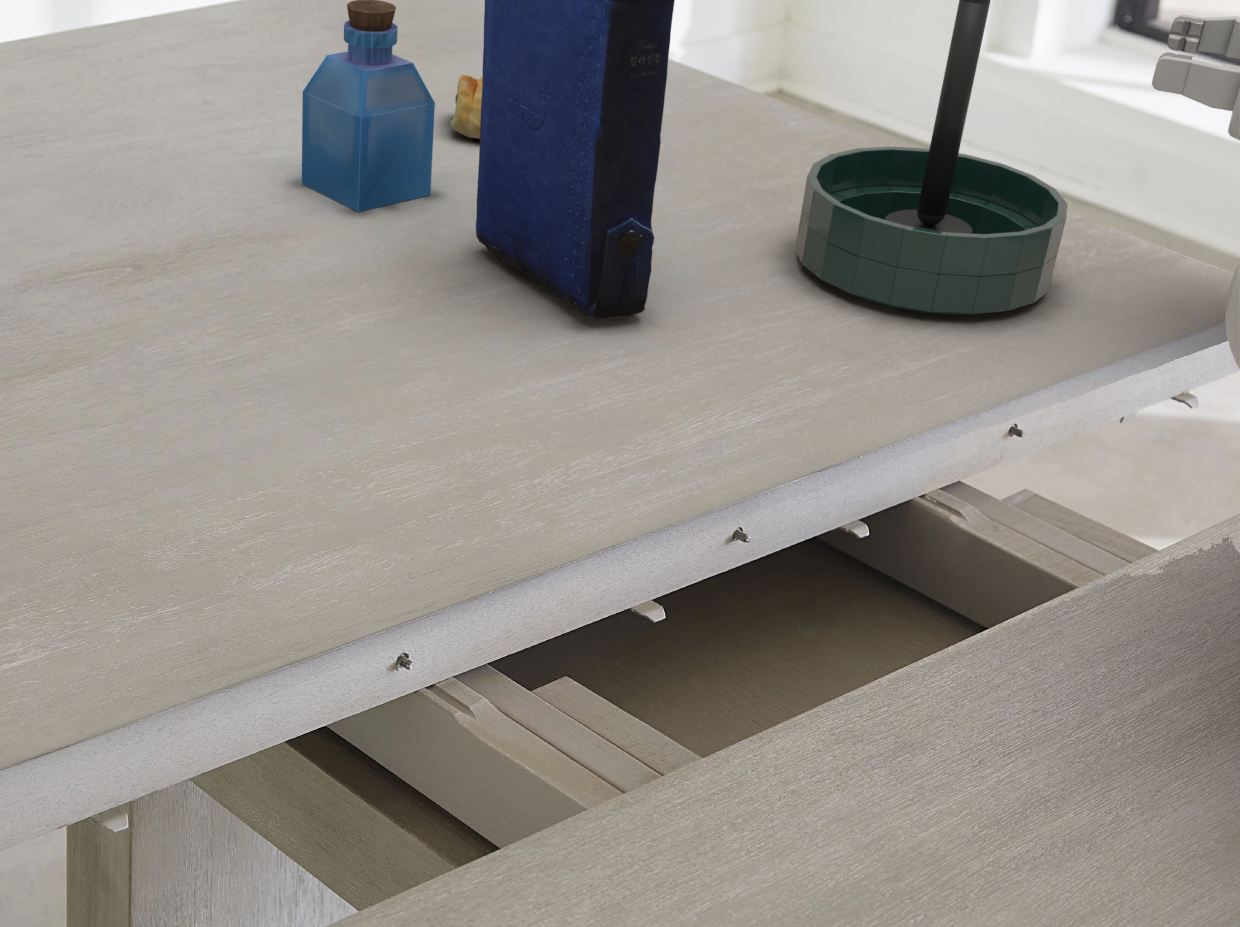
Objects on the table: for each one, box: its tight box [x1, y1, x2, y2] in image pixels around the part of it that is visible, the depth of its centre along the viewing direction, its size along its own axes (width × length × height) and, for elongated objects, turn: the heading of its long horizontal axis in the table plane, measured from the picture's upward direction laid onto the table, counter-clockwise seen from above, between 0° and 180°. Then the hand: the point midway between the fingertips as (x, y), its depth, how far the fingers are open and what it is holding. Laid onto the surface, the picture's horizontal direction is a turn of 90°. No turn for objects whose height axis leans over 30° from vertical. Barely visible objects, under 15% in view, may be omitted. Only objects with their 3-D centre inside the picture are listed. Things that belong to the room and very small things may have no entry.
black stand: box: [885, 0, 991, 234], centre depth 118 cm, size 6×6×17 cm
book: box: [475, 0, 676, 319], centre depth 111 cm, size 14×5×20 cm, turn 32°
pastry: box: [450, 74, 483, 140], centre depth 139 cm, size 9×7×4 cm
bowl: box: [795, 146, 1069, 316], centre depth 121 cm, size 16×16×6 cm
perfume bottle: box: [301, 0, 436, 213], centre depth 125 cm, size 6×6×12 cm
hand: (1162, 49), depth 111 cm, fingers open, 8 cm apart
